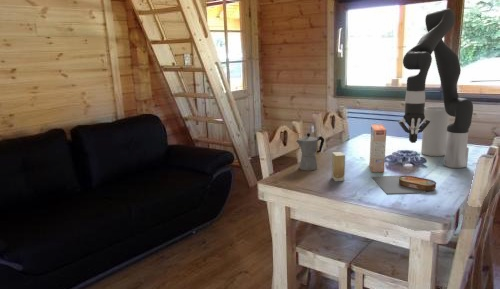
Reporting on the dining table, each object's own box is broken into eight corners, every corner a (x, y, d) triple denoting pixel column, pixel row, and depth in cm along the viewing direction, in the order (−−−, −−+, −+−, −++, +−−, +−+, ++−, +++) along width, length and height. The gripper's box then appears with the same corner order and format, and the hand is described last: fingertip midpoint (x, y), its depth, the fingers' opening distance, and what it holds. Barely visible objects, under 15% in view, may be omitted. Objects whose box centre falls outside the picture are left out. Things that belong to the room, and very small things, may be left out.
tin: (439, 181, 165) (431, 185, 159) (438, 188, 166) (430, 192, 160) (404, 174, 176) (395, 177, 170) (403, 181, 176) (395, 184, 170)
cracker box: (385, 173, 188) (386, 129, 183) (371, 172, 189) (373, 129, 184) (381, 164, 201) (383, 124, 196) (369, 164, 203) (370, 124, 198)
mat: (406, 176, 182) (406, 175, 182) (426, 192, 161) (426, 192, 161) (371, 177, 183) (371, 176, 183) (387, 194, 161) (387, 193, 161)
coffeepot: (301, 172, 194) (300, 136, 190) (292, 167, 203) (292, 132, 198) (328, 168, 199) (329, 133, 195) (319, 163, 208) (319, 129, 203)
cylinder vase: (442, 150, 222) (446, 106, 216) (449, 156, 210) (453, 110, 204) (418, 150, 224) (421, 106, 218) (424, 156, 212) (427, 110, 206)
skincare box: (331, 177, 185) (331, 151, 182) (340, 176, 185) (340, 151, 182) (335, 181, 179) (335, 155, 176) (344, 181, 179) (345, 154, 176)
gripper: (427, 99, 167) (424, 139, 171) (395, 101, 167) (394, 141, 171) (435, 102, 160) (432, 143, 164) (402, 103, 160) (400, 145, 164)
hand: (412, 142), depth 167 cm, fingers closed
